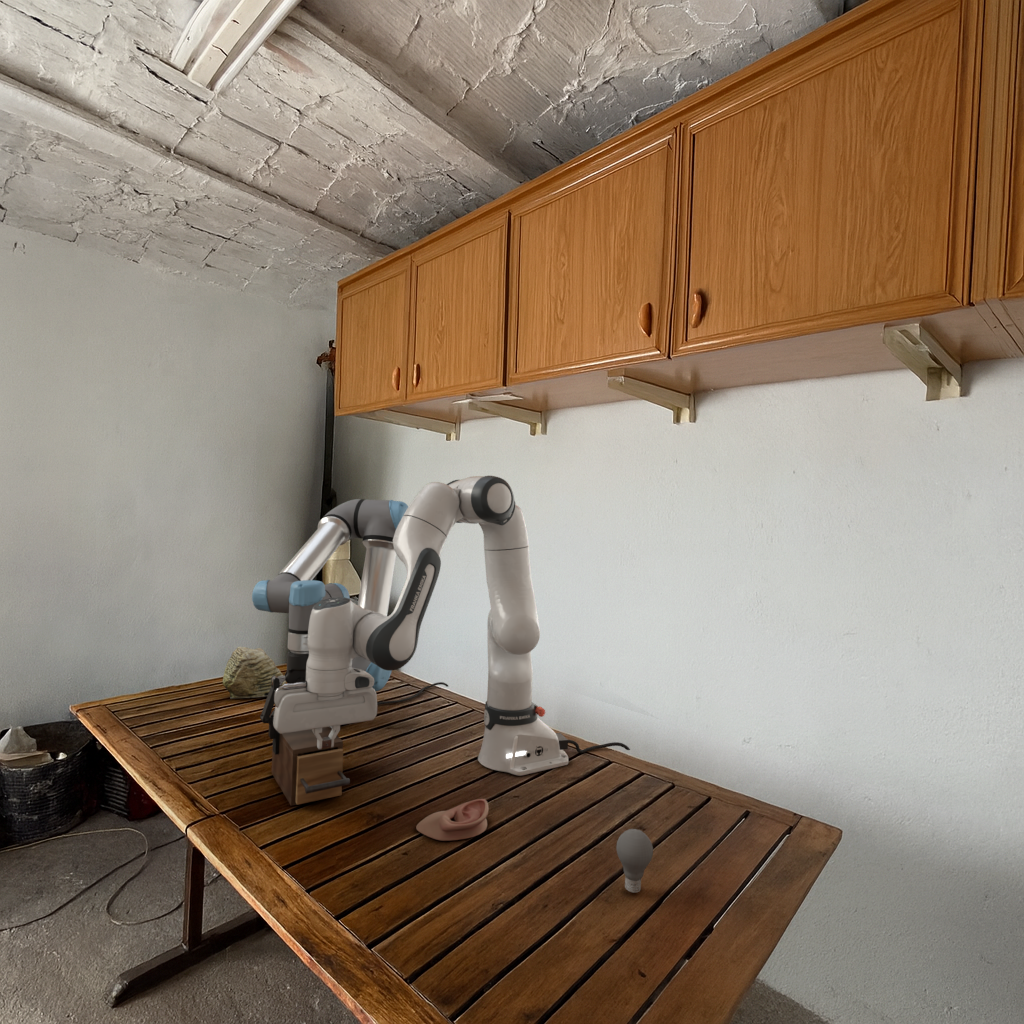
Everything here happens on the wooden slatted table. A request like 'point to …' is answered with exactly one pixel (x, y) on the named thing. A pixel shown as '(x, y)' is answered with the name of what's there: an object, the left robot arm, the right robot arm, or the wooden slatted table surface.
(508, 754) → the right robot arm
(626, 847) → the light bulb
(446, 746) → the wooden slatted table surface
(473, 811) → the anatomical model
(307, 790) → the drawer
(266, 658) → the fossil
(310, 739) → the cabinet
